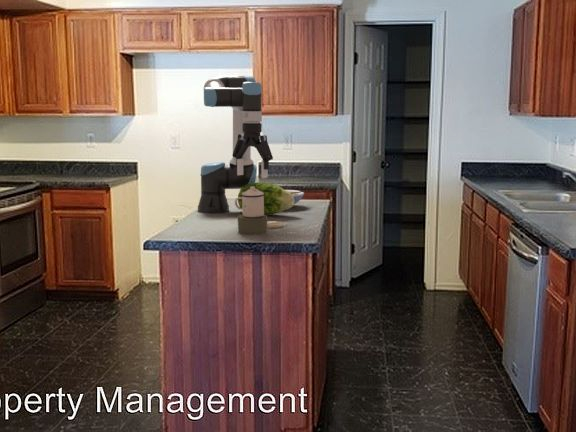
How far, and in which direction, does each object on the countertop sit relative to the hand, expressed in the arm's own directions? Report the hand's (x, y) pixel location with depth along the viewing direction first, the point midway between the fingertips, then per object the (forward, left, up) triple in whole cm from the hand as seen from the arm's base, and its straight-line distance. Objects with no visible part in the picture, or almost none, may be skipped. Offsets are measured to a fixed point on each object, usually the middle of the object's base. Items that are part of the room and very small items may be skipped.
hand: (252, 176), depth 247 cm
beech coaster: (-4, +15, -23) cm, 27 cm away
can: (0, 0, -23) cm, 23 cm away
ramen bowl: (-36, +57, -23) cm, 71 cm away
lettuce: (-24, +33, -23) cm, 47 cm away
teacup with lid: (-1, -1, -16) cm, 16 cm away
